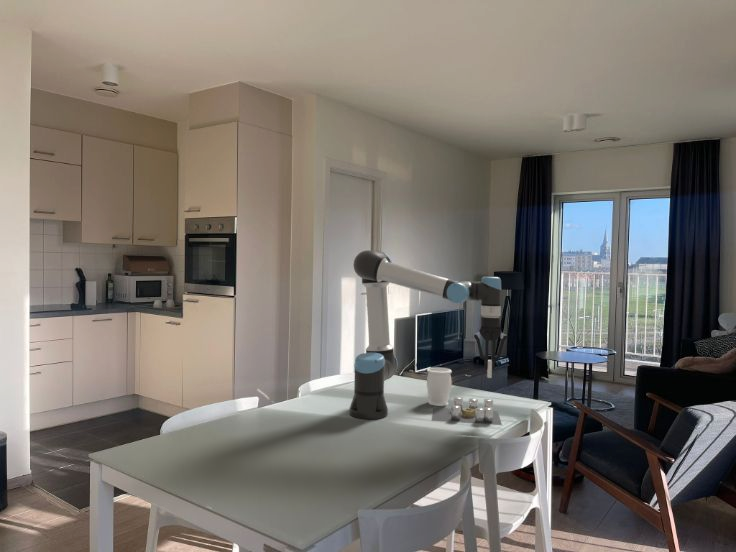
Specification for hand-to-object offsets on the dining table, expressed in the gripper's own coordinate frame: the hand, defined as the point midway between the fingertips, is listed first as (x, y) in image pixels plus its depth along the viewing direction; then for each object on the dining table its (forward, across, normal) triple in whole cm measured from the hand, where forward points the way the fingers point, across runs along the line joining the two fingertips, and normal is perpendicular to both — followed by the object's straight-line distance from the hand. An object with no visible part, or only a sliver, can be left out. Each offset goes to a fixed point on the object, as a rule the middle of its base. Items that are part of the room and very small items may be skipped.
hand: (489, 377), depth 222 cm
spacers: (+16, -6, 0) cm, 17 cm away
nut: (+16, -8, 0) cm, 17 cm away
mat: (+16, -9, 0) cm, 18 cm away
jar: (+16, -20, +17) cm, 31 cm away
